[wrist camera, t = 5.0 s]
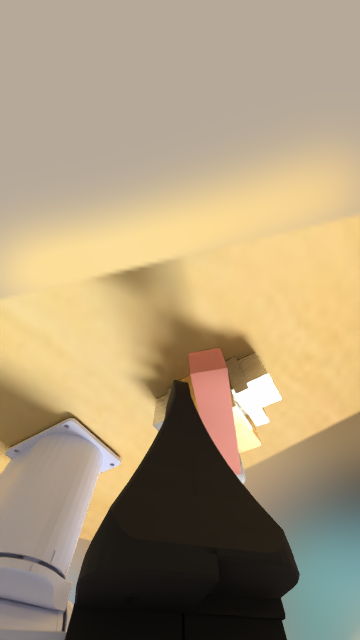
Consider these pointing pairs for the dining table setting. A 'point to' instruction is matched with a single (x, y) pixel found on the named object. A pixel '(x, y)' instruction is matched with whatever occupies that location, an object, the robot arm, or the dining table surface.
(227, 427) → the lever
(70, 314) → the dining table surface
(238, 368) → the valve base
